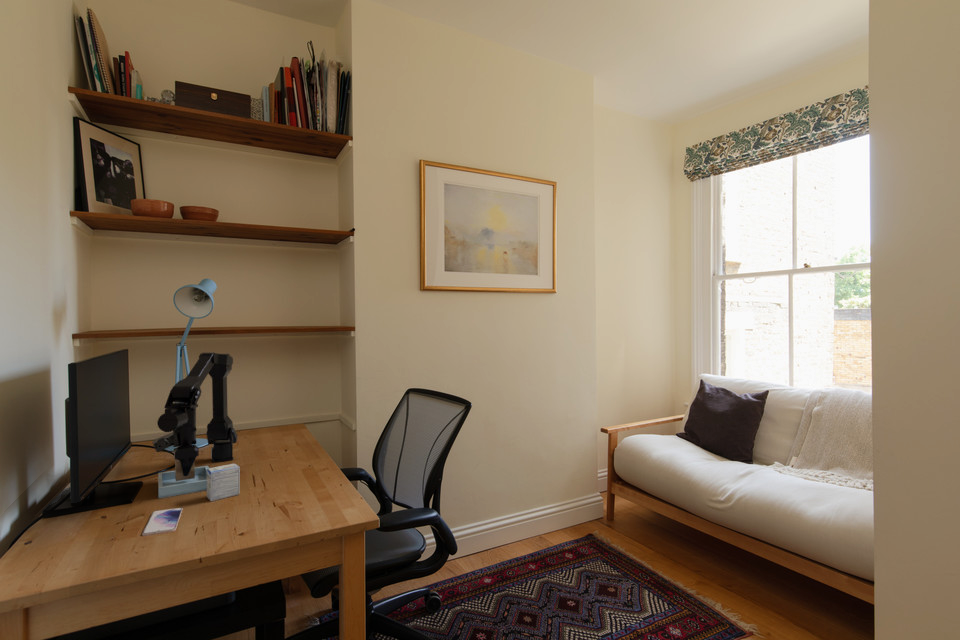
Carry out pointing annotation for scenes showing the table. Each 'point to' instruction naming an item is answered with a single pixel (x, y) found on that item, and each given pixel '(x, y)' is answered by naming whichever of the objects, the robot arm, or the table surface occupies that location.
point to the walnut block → (179, 472)
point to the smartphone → (162, 521)
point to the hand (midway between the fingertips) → (185, 473)
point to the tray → (181, 483)
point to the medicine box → (223, 481)
